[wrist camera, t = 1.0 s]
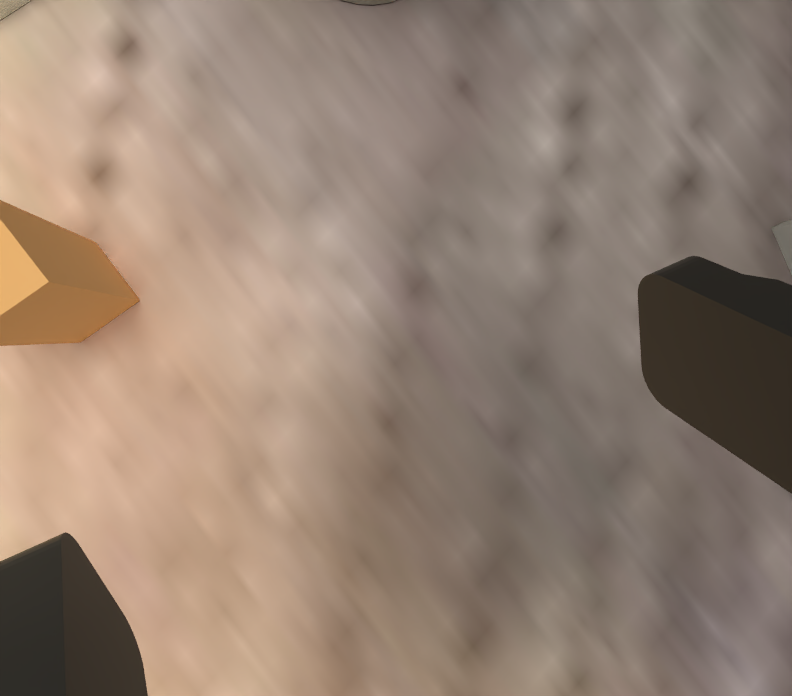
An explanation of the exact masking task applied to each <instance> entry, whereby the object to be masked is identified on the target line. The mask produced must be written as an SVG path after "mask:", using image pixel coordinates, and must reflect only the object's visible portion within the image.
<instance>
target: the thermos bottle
mask: <svg viewBox="0 0 792 696" xmlns="http://www.w3.org/2000/svg"><path fill="white" fill-rule="evenodd" d="M343 1H347V2H351V3H355V4H366V5H377V4H383V3H389V2H393V1H395V0H343Z"/></svg>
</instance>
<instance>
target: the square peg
mask: <svg viewBox="0 0 792 696" xmlns="http://www.w3.org/2000/svg"><path fill="white" fill-rule="evenodd" d="M139 301H140V300H139V298H138V297H137V296H136V294H135V293H134V292H133V291H132V289H131V288H130V287H129V285H128V284H127V283H126V281H125V280H124V279H123V277H122V276H121V275H120V273H119V272H118V271H117V270H116V268H115V267H114V266H113V264H112V263H111V262H110V260H109V259H108V258H107V256H106V255H105V254H104V253H103V251H102V250H101V249H100V247H99V246H98V245H97V243H96V242H94V241H91V240H89V239H87V238H85V237H82V236H80V235H78V234H76V233H73V232H71V231H69V230H67V229H64V228H62V227H60V226H58V225H55V224H53V223H51V222H49V221H46V220H44V219H42V218H39V217H37V216H35V215H33V214H30V213H28V212H26V211H24V210H21V209H19V208H17V207H15V206H12V205H10V204H8V203H6V202H3V201H1V200H0V346H6V345H30V344H54V343H78V342H82V341H83V340H85V339H86V338H87V337H89V336H90V335H92V334H93V333H95V332H96V331H97V330H99V329H100V328H102V327H103V326H105V325H106V324H107V323H109V322H110V321H112V320H113V319H114V318H116V317H117V316H119V315H120V314H122V313H123V312H124V311H126V310H127V309H129V308H130V307H131V306H133V305H134V304H136V303H137V302H139Z"/></svg>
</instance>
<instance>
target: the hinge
mask: <svg viewBox="0 0 792 696" xmlns="http://www.w3.org/2000/svg"><path fill="white" fill-rule="evenodd" d="M772 231H773V233H774V235H775V238H776V240H777V242H778V245H779V247H780V249H781V252H782V254H783V256H784V259H785V261H786V263H787V266H788V268H789V270H790V273H791V275H792V220H789V221H784V222H782V223H780V224H778V225H776V226H774V227H772Z"/></svg>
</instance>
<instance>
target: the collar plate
mask: <svg viewBox="0 0 792 696" xmlns="http://www.w3.org/2000/svg"><path fill="white" fill-rule="evenodd" d="M29 1H31V0H0V20H1V19H3V18H5V17H6V16H8V15H9V14H11V13H12V12H14V11H15V10H17V9H18V8H20V7H21V6H23V5H25V4H26V3H28V2H29Z"/></svg>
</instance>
